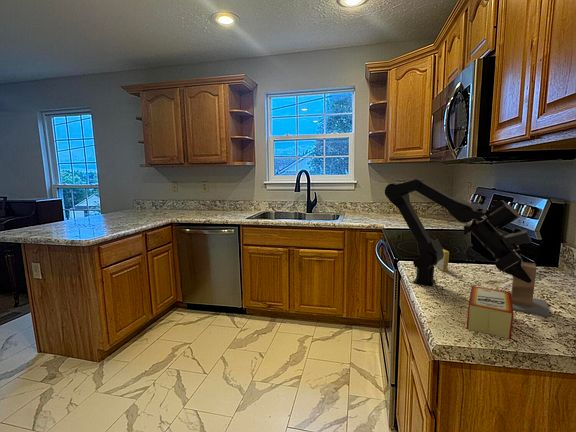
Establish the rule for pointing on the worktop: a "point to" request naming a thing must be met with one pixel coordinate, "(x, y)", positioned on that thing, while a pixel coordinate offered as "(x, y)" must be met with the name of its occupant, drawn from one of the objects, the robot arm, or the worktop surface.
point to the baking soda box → (490, 312)
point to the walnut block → (524, 286)
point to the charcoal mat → (534, 308)
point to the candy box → (443, 262)
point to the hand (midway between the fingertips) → (529, 277)
